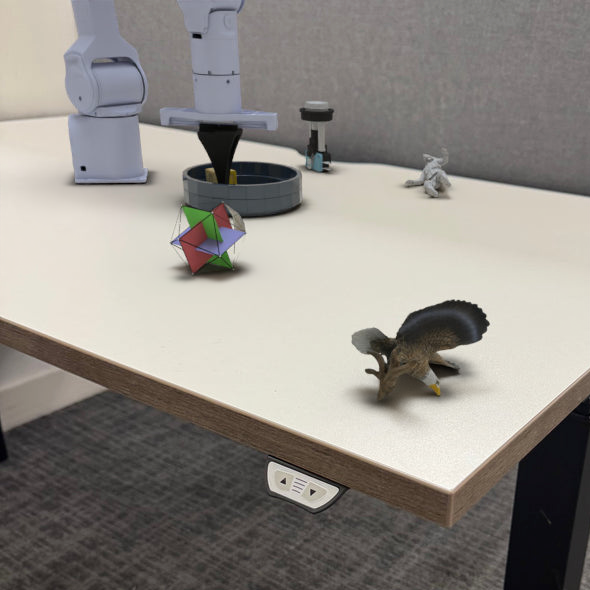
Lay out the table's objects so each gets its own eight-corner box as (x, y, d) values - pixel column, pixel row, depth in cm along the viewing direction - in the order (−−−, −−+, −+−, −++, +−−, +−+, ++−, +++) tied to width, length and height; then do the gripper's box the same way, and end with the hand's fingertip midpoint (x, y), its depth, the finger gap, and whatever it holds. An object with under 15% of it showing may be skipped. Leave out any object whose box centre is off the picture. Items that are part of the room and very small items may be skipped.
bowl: (184, 219, 96) (181, 186, 94) (185, 190, 109) (182, 160, 107) (308, 217, 100) (308, 185, 98) (295, 189, 113) (294, 160, 111)
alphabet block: (226, 188, 109) (224, 165, 107) (238, 192, 106) (236, 169, 105) (206, 191, 107) (204, 168, 105) (218, 196, 105) (215, 172, 103)
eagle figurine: (446, 412, 52) (510, 348, 58) (391, 320, 51) (463, 263, 57) (374, 430, 58) (439, 370, 64) (323, 348, 56) (395, 294, 62)
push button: (344, 172, 124) (344, 105, 120) (314, 175, 122) (313, 106, 117) (323, 164, 129) (323, 99, 124) (294, 167, 126) (293, 100, 122)
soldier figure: (409, 204, 112) (394, 160, 120) (430, 224, 115) (414, 180, 123) (452, 168, 109) (434, 126, 117) (472, 189, 112) (453, 147, 120)
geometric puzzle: (195, 267, 74) (227, 190, 74) (143, 253, 77) (175, 178, 77) (239, 295, 80) (268, 223, 81) (190, 280, 83) (218, 211, 84)
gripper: (281, 73, 100) (284, 181, 106) (169, 68, 101) (178, 176, 107) (269, 78, 94) (273, 193, 100) (149, 72, 94) (161, 187, 101)
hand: (223, 185), depth 103 cm, fingers closed
